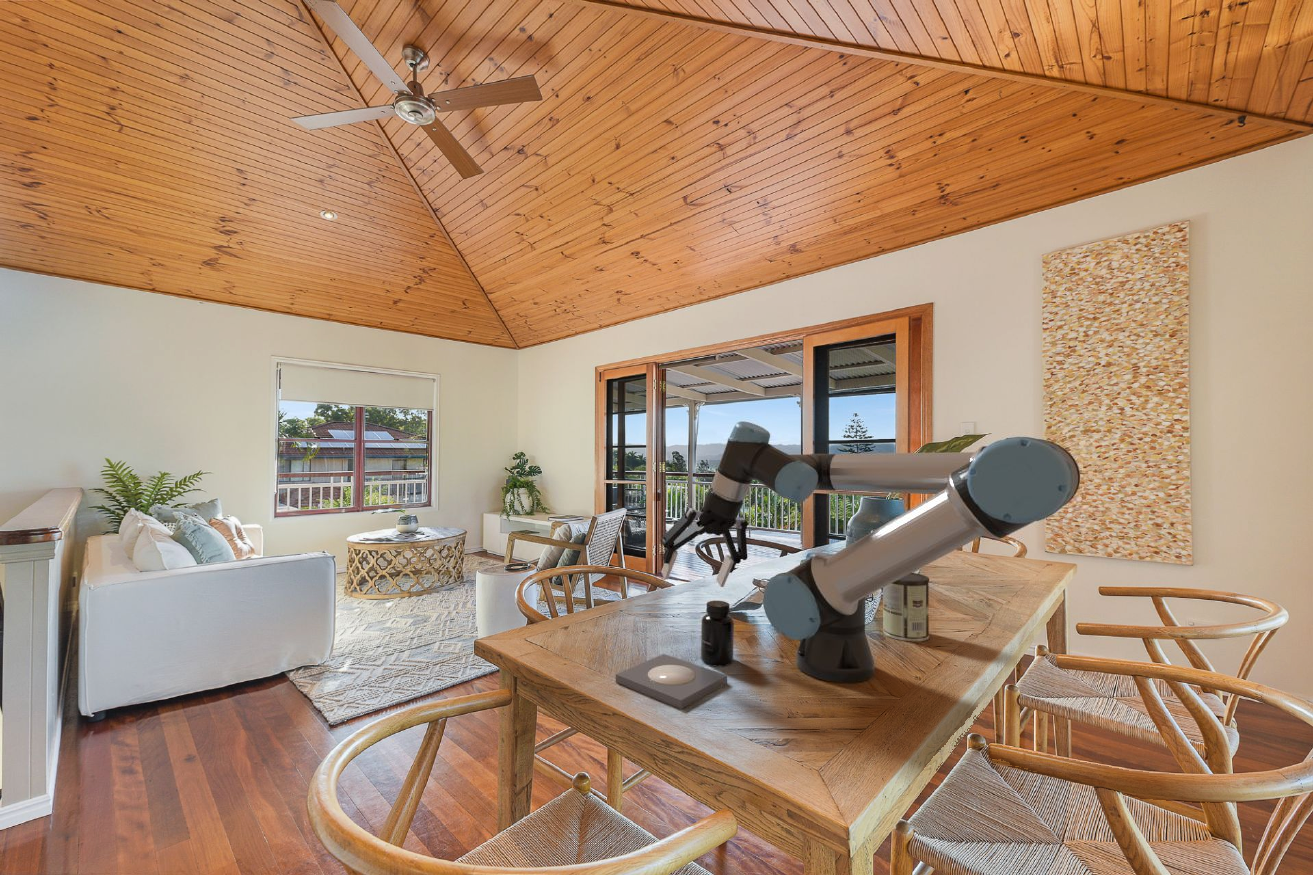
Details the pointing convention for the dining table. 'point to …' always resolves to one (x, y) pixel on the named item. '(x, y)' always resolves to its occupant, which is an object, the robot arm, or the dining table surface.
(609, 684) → the dining table surface
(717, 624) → the supplement bottle
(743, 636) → the dining table surface
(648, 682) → the board
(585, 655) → the dining table surface
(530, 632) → the dining table surface
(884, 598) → the coffee can
